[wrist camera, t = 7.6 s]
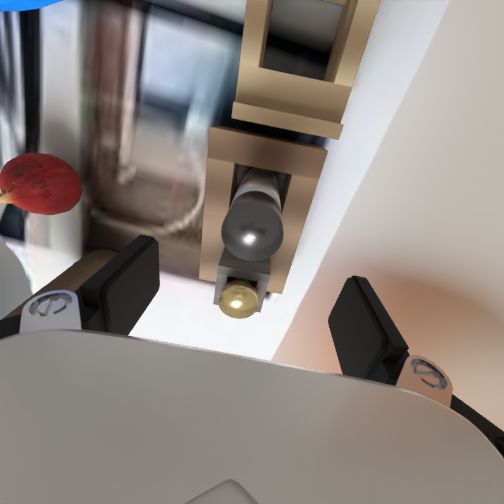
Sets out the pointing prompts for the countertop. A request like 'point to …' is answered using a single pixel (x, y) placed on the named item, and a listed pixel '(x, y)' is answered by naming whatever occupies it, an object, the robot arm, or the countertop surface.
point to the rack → (297, 87)
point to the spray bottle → (24, 4)
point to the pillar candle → (73, 275)
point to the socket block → (222, 194)
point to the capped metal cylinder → (254, 217)
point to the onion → (40, 184)
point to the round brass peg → (238, 298)
